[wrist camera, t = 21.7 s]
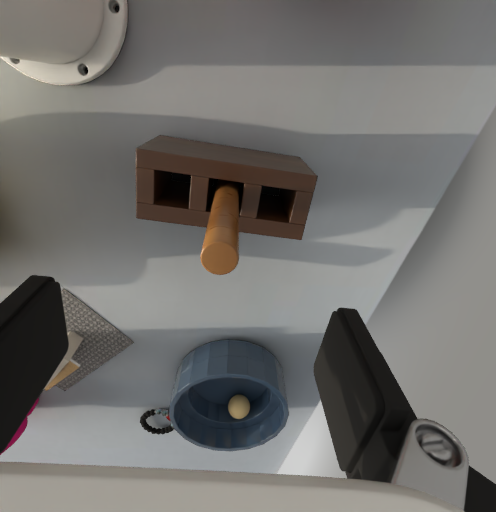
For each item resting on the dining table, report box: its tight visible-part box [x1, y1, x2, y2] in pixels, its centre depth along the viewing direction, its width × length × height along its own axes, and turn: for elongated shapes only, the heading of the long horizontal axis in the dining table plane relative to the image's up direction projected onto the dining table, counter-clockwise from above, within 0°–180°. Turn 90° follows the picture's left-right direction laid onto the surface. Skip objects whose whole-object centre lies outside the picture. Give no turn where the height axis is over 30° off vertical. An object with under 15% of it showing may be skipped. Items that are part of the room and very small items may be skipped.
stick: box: [200, 179, 239, 275], centre depth 24 cm, size 2×2×18 cm
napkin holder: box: [43, 331, 84, 391], centre depth 39 cm, size 3×7×7 cm, turn 128°
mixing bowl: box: [169, 339, 289, 451], centre depth 43 cm, size 15×15×6 cm
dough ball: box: [228, 395, 250, 419], centre depth 45 cm, size 3×3×3 cm
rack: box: [136, 135, 318, 240], centre depth 29 cm, size 6×14×8 cm, turn 81°
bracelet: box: [140, 408, 174, 434], centre depth 49 cm, size 6×6×1 cm
